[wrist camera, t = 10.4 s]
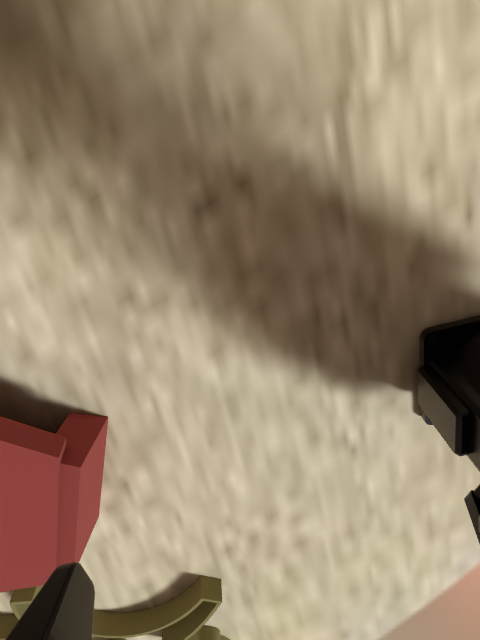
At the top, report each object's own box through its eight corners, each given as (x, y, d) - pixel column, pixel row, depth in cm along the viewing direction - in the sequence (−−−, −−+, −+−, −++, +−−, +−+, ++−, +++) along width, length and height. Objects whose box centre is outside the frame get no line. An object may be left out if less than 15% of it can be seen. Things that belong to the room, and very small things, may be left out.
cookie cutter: (246, 570, 31) (249, 598, 29) (225, 656, 36) (226, 684, 35) (-13, 568, 29) (-27, 599, 27) (5, 661, 34) (-6, 691, 32)
